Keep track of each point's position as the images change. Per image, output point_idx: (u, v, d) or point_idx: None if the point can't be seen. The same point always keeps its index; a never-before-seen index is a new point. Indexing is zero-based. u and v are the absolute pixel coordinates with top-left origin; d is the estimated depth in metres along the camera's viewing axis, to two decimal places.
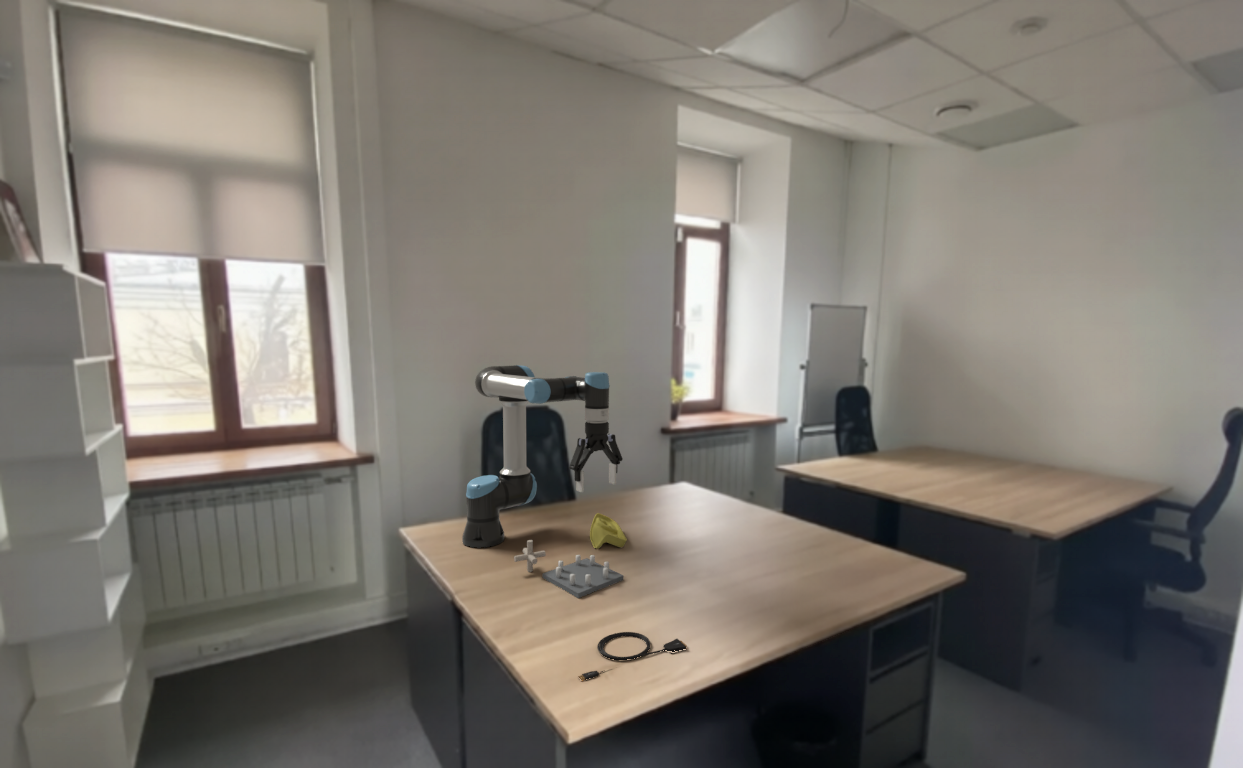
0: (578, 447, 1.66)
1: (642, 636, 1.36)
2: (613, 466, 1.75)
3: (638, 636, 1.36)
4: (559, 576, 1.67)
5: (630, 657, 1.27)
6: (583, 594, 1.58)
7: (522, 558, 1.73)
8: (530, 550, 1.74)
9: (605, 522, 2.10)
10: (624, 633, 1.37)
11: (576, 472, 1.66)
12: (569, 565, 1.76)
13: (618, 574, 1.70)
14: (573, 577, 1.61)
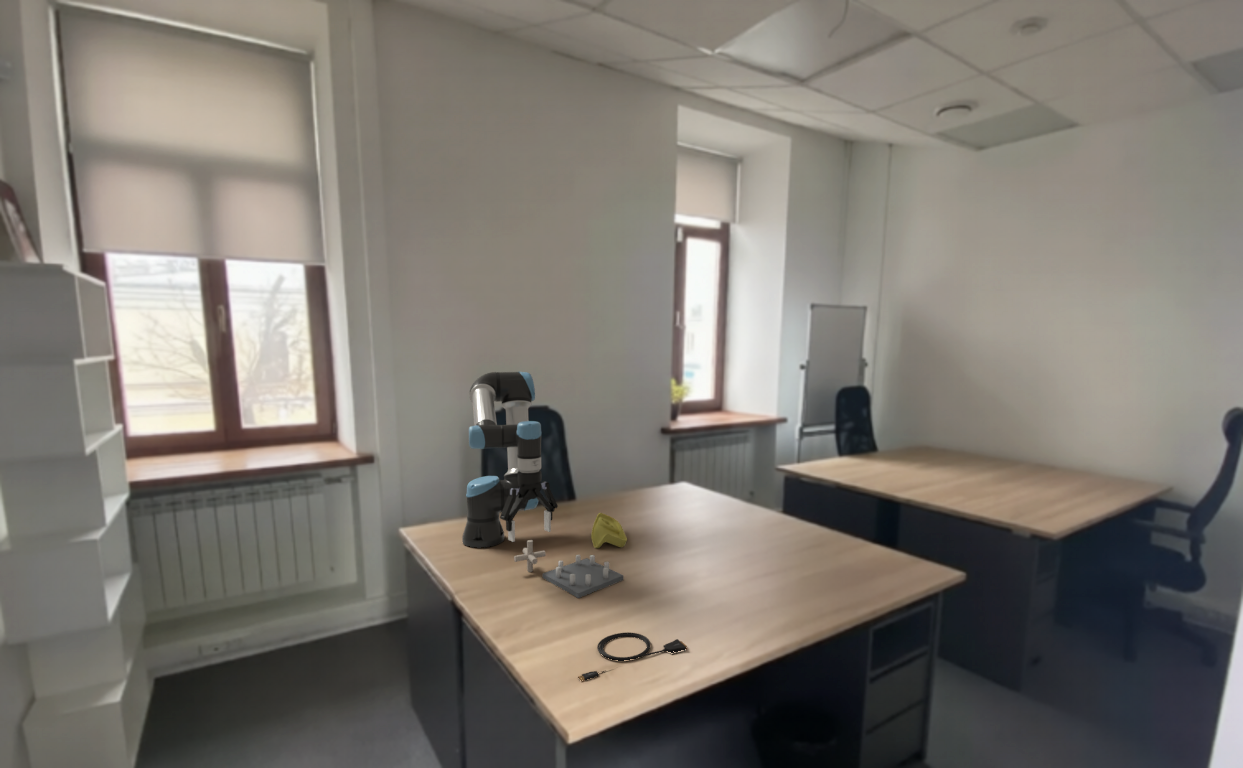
0: (509, 497, 1.68)
1: (642, 637, 1.36)
2: (547, 513, 1.77)
3: (638, 637, 1.36)
4: (559, 576, 1.67)
5: (630, 657, 1.26)
6: (583, 594, 1.58)
7: (522, 558, 1.73)
8: (530, 550, 1.74)
9: (607, 522, 2.10)
10: (624, 634, 1.37)
11: (507, 522, 1.67)
12: (569, 565, 1.76)
13: (618, 574, 1.70)
14: (573, 577, 1.61)
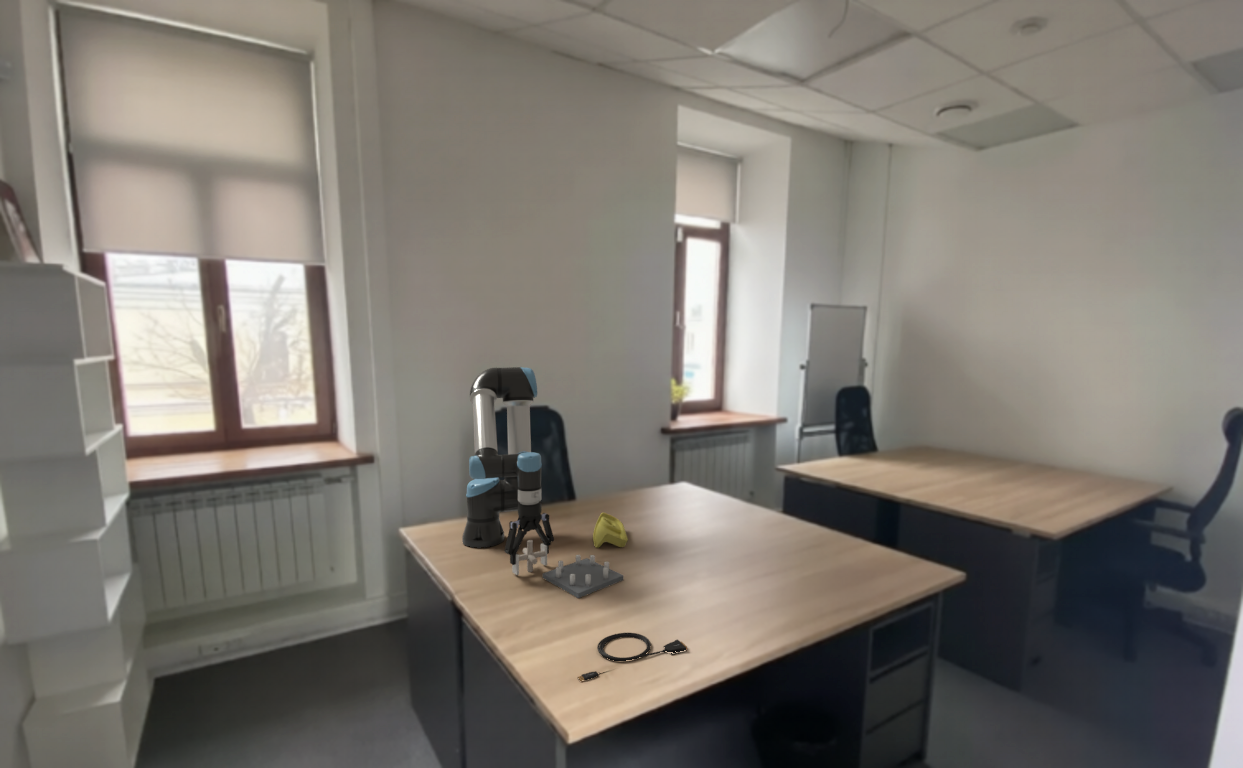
0: (510, 531, 1.69)
1: (642, 637, 1.35)
2: (544, 547, 1.77)
3: (638, 637, 1.36)
4: (559, 576, 1.67)
5: (630, 658, 1.26)
6: (583, 594, 1.58)
7: (522, 558, 1.73)
8: (530, 550, 1.74)
9: (610, 522, 2.10)
10: (624, 634, 1.37)
11: (511, 555, 1.70)
12: (569, 565, 1.76)
13: (618, 574, 1.70)
14: (573, 577, 1.61)
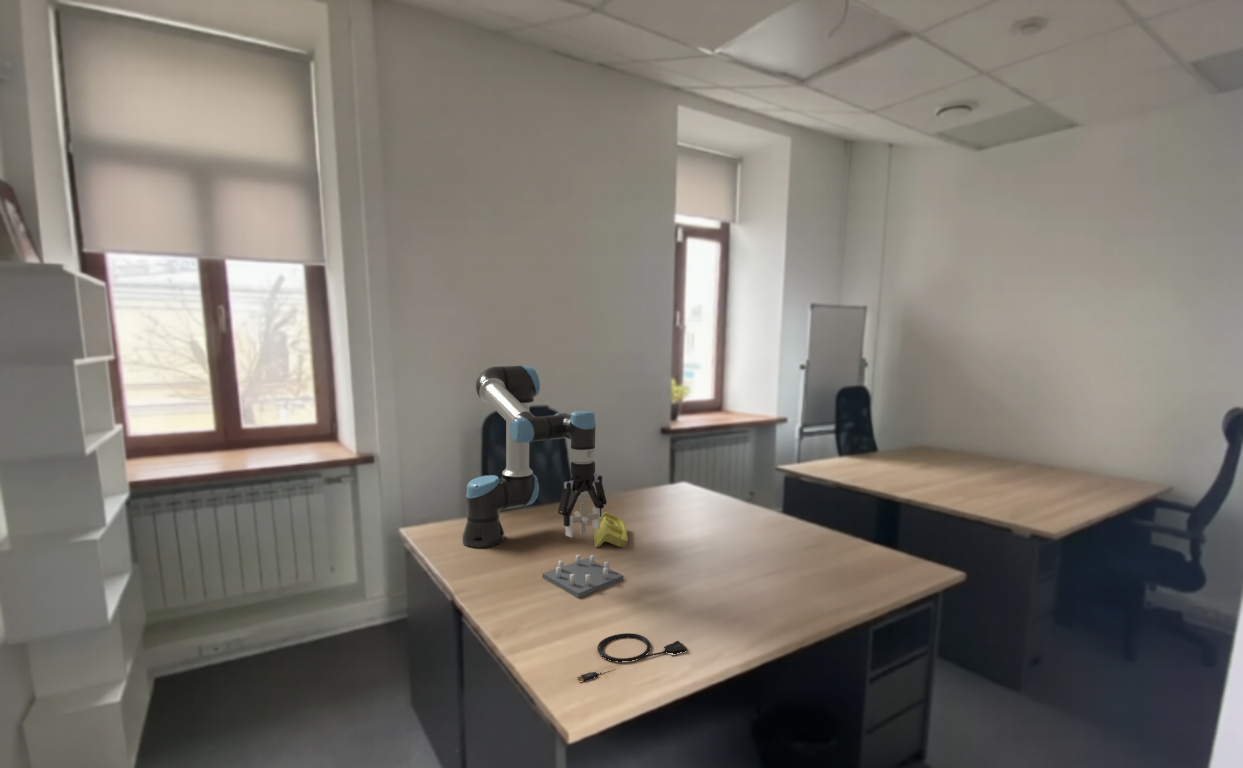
0: (564, 491, 1.63)
1: (643, 638, 1.35)
2: (597, 510, 1.71)
3: (639, 638, 1.35)
4: (559, 576, 1.67)
5: (630, 659, 1.26)
6: (583, 594, 1.58)
7: (575, 520, 1.66)
8: (583, 512, 1.67)
9: (612, 521, 2.11)
10: (625, 634, 1.36)
11: (565, 517, 1.63)
12: (569, 565, 1.76)
13: (618, 574, 1.70)
14: (573, 577, 1.61)
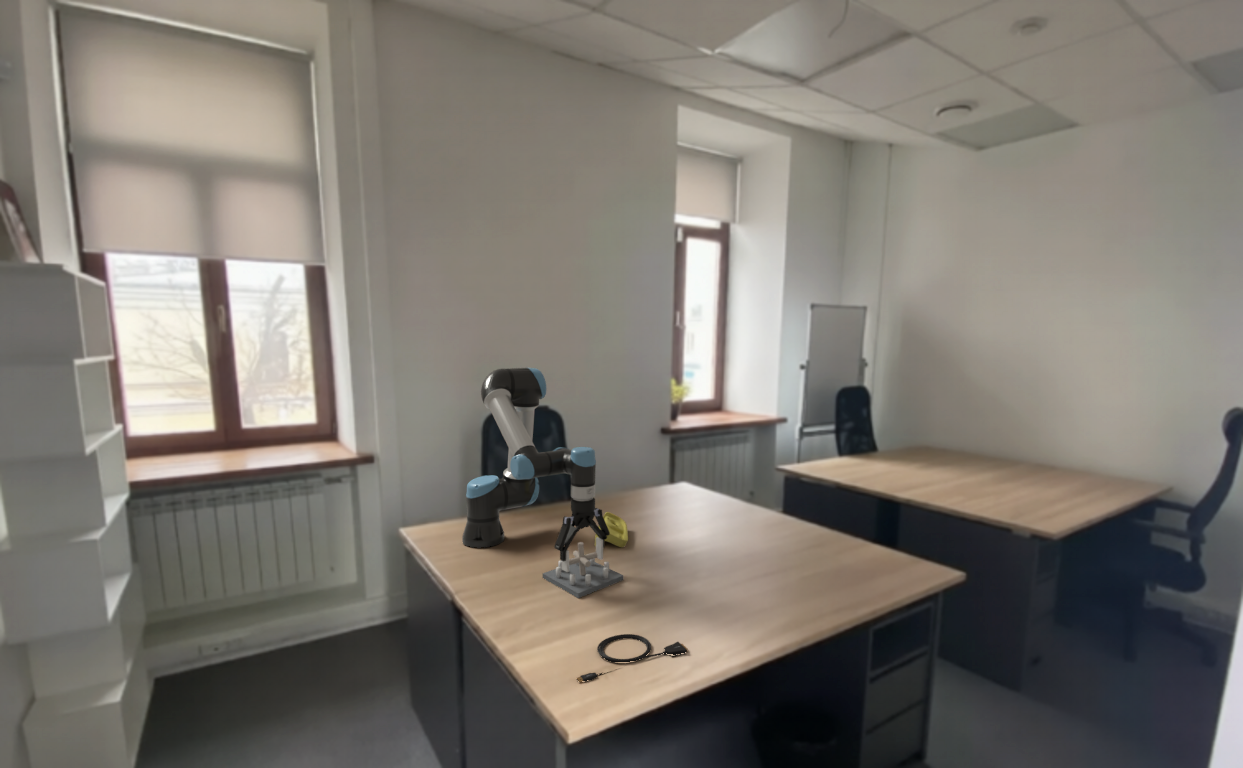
0: (563, 526, 1.63)
1: (643, 638, 1.35)
2: (600, 541, 1.72)
3: (639, 638, 1.35)
4: (559, 576, 1.67)
5: (629, 659, 1.26)
6: (583, 594, 1.58)
7: (574, 561, 1.67)
8: (582, 553, 1.68)
9: (614, 521, 2.11)
10: (625, 635, 1.36)
11: (561, 552, 1.63)
12: (569, 565, 1.76)
13: (618, 574, 1.70)
14: (573, 577, 1.61)
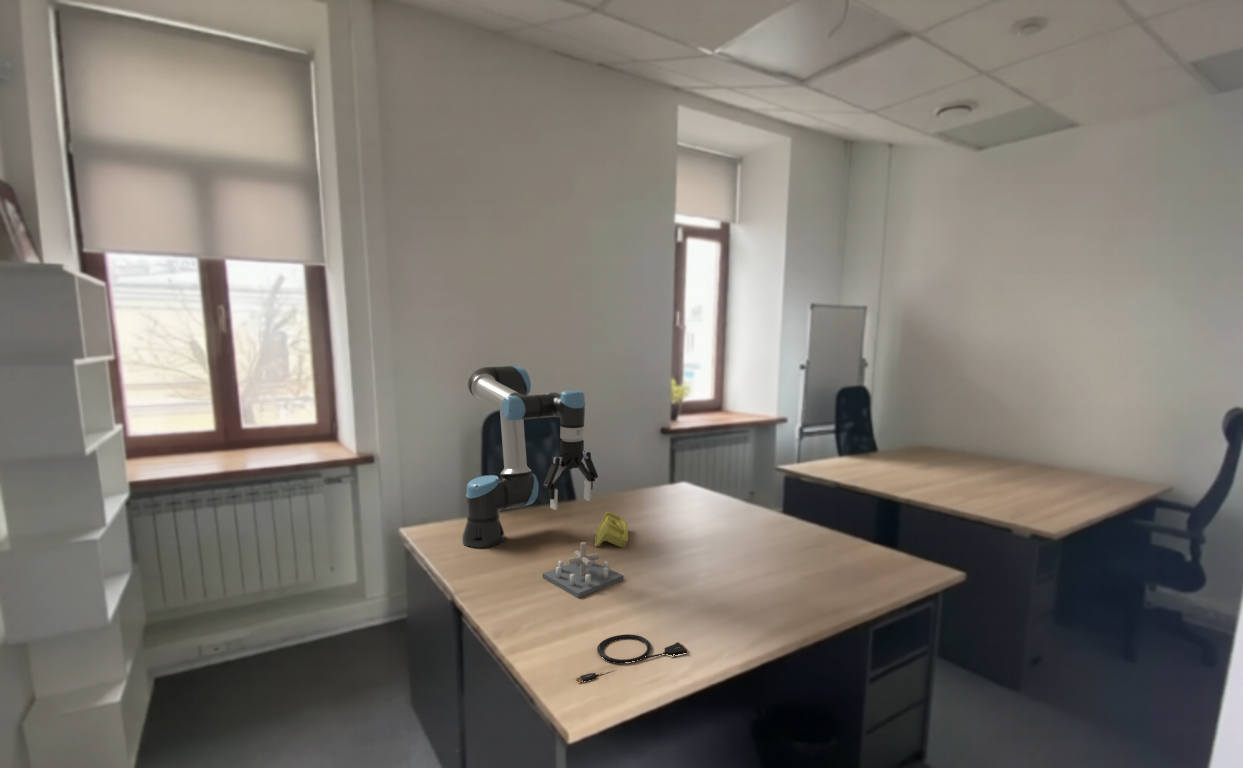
0: (552, 465, 1.68)
1: (643, 639, 1.35)
2: (588, 483, 1.77)
3: (639, 639, 1.35)
4: (559, 576, 1.67)
5: (629, 660, 1.25)
6: (583, 594, 1.58)
7: (576, 561, 1.67)
8: (584, 552, 1.68)
9: (614, 521, 2.11)
10: (625, 635, 1.36)
11: (550, 490, 1.67)
12: (569, 565, 1.76)
13: (618, 574, 1.70)
14: (573, 577, 1.61)
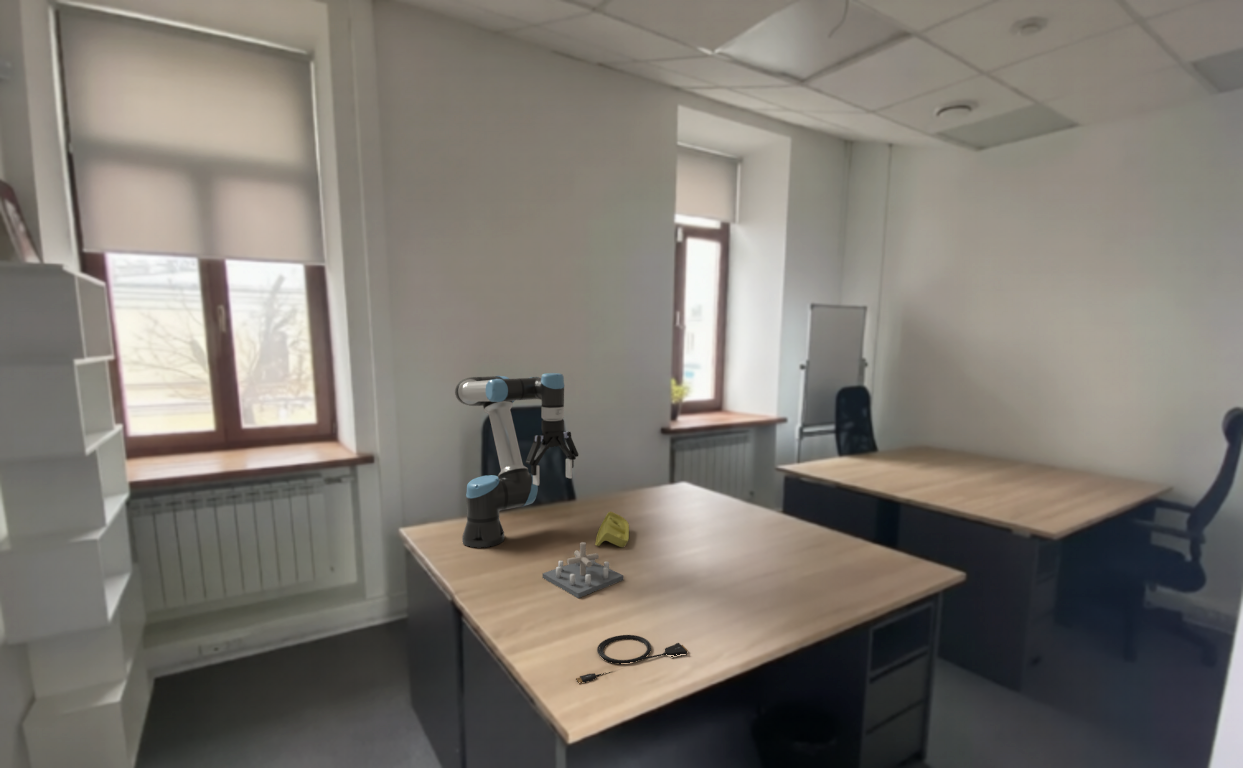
0: (534, 443, 1.78)
1: (643, 639, 1.34)
2: (569, 461, 1.87)
3: (639, 639, 1.35)
4: (559, 576, 1.67)
5: (629, 660, 1.25)
6: (583, 594, 1.58)
7: (575, 561, 1.67)
8: (583, 553, 1.68)
9: (616, 521, 2.11)
10: (625, 636, 1.36)
11: (532, 466, 1.78)
12: (569, 565, 1.76)
13: (618, 574, 1.70)
14: (573, 577, 1.61)
